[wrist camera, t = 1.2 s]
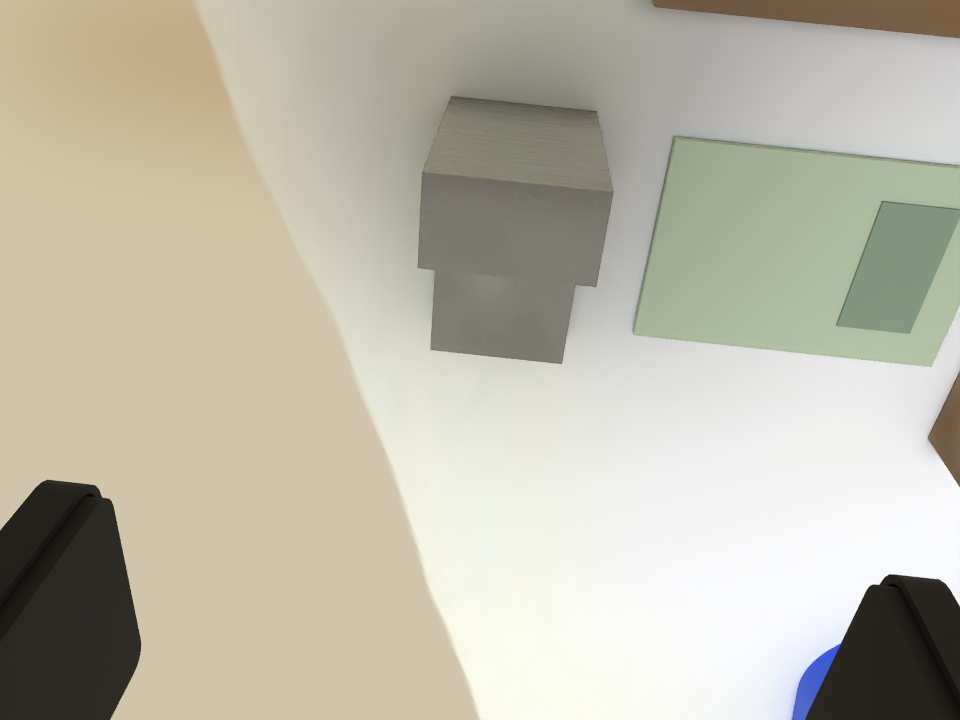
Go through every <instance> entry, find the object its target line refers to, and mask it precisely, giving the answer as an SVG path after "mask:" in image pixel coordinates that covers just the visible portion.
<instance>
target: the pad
mask: <svg viewBox="0 0 960 720" xmlns="http://www.w3.org/2000/svg"><path fill="white" fill-rule="evenodd" d="M959 305H960V166H954V165H945V164H935V163H925V162H916V161H906V160H897V159H887V158H877V157H868V156H858V155H849V154H839V153H829V152H820V151H810V150H801V149H791V148H781V147H772V146H762V145H753V144H743V143H733V142H724V141H714V140H705V139H695V138H685V137H676V136H675V137H674V142H673V146H672V151H671V156H670V160H669V165H668V169H667V174H666V179H665V183H664V188H663V193H662V197H661V202H660V207H659V211H658V216H657V220H656V225H655V230H654V234H653V239H652V244H651V248H650V253H649V258H648V262H647V267H646V271H645V276H644V281H643V285H642V290H641V295H640V299H639V304H638V309H637V313H636V318H635V322H634V327H633V335H638V336H647V337H657V338H666V339H675V340H685V341H694V342H703V343H713V344H722V345H731V346H740V347H750V348H759V349H768V350H778V351H787V352H796V353H806V354H815V355H824V356H834V357H843V358H852V359H861V360H871V361H880V362H889V363H899V364H908V365H917V366H927V367H931V366H932V364H933V362H934V360H935V357H936V355H937V353H938V351H939V349H940V347H941V344H942V342H943V340H944V338H945V336H946V334H947V331H948V329H949V327H950V325H951V323H952V321H953V318H954V316H955V314H956V312H957V310H958V307H959Z"/></svg>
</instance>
